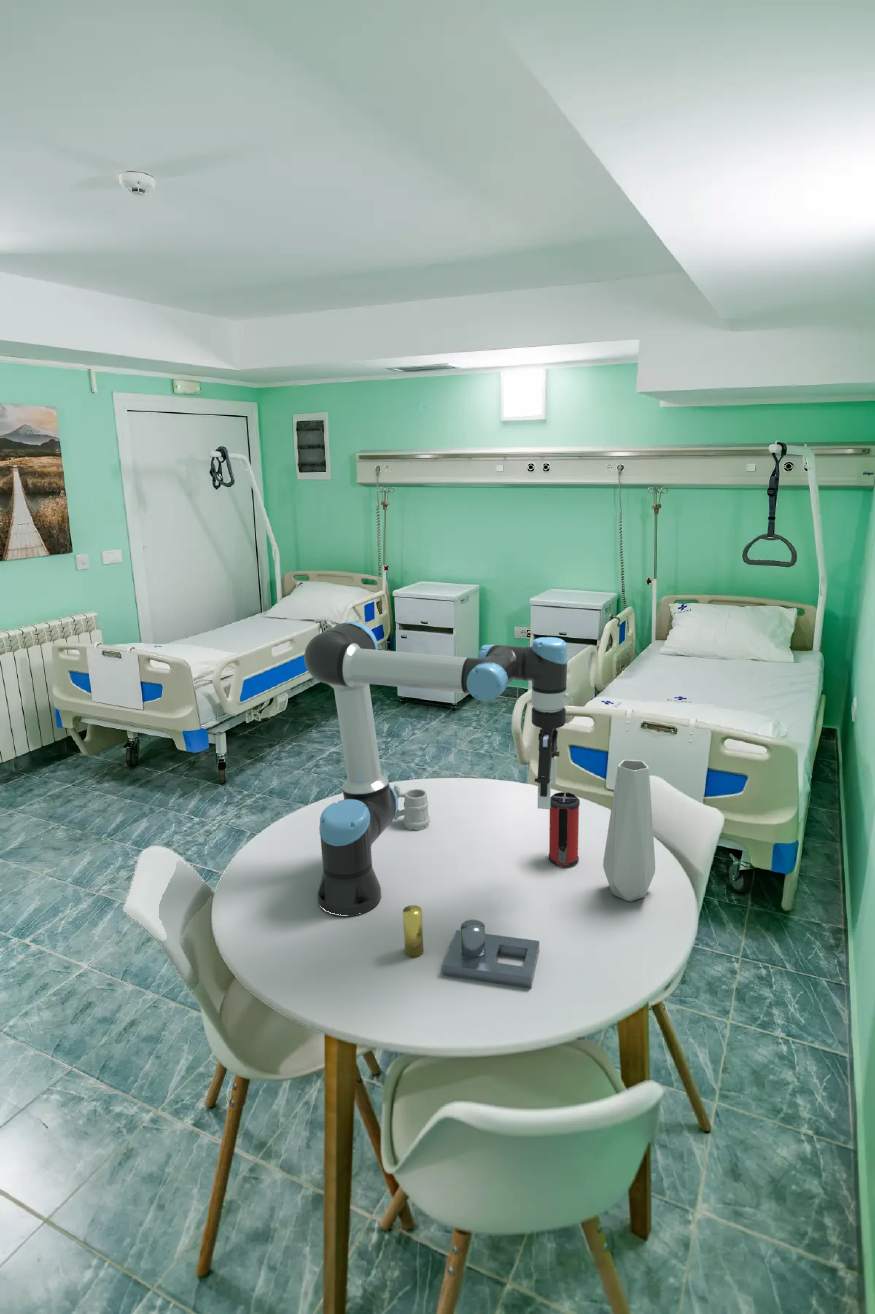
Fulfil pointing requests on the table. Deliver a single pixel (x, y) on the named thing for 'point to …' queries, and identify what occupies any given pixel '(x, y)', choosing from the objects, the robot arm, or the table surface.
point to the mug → (414, 808)
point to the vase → (630, 833)
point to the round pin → (413, 931)
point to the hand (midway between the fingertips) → (547, 795)
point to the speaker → (564, 829)
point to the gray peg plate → (490, 956)
